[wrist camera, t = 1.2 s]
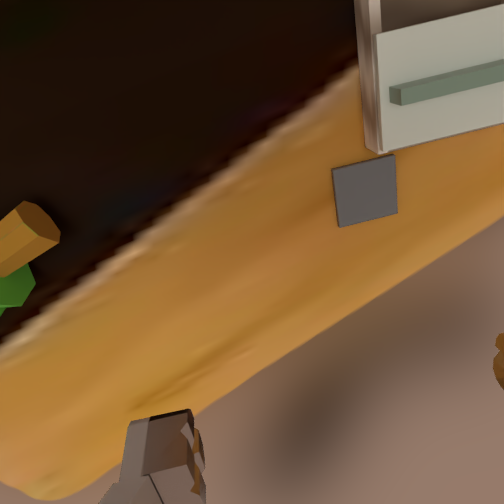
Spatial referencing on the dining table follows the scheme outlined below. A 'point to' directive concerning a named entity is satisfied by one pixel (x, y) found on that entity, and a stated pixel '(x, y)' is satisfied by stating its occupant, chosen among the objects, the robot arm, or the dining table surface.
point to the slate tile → (365, 190)
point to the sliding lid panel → (440, 77)
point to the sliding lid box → (386, 19)
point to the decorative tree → (22, 250)
